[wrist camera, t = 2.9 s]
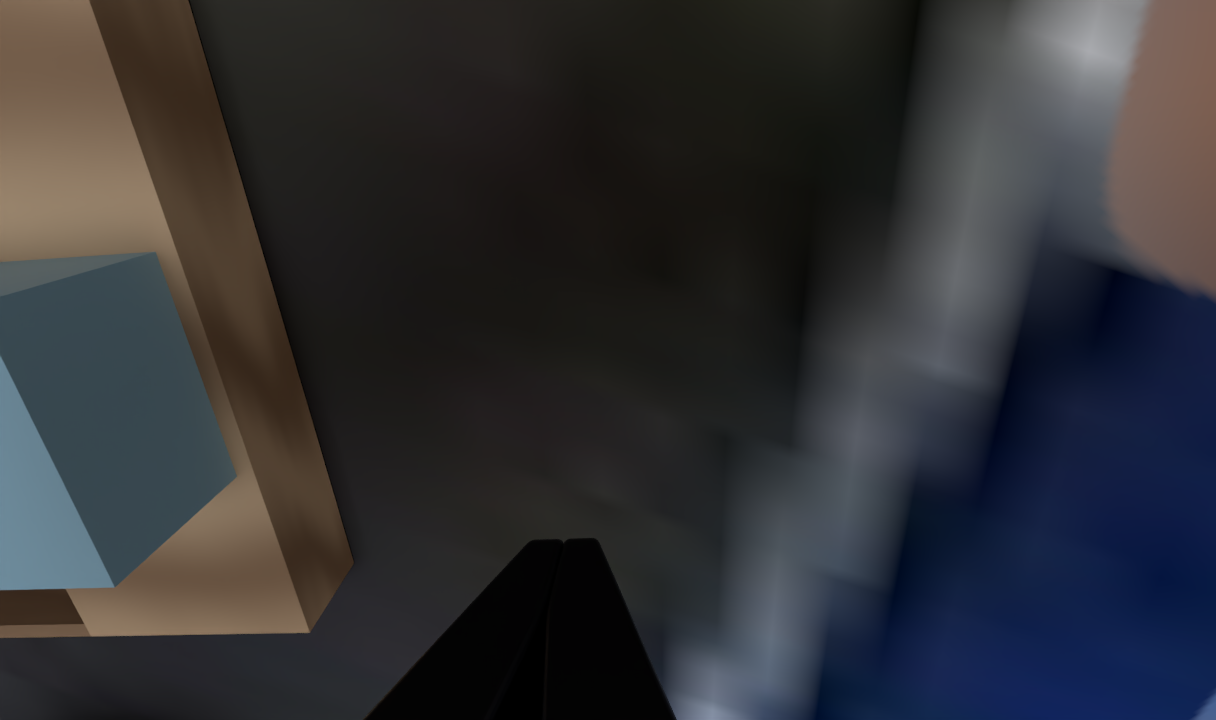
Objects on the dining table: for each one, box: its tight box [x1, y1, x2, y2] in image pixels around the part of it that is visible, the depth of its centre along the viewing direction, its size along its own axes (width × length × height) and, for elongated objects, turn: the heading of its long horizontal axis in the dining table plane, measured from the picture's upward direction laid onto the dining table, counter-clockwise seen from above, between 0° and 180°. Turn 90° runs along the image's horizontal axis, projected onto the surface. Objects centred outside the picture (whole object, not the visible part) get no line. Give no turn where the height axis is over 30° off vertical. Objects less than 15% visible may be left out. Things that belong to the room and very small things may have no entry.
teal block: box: [0, 252, 237, 590], centre depth 13 cm, size 6×6×4 cm
